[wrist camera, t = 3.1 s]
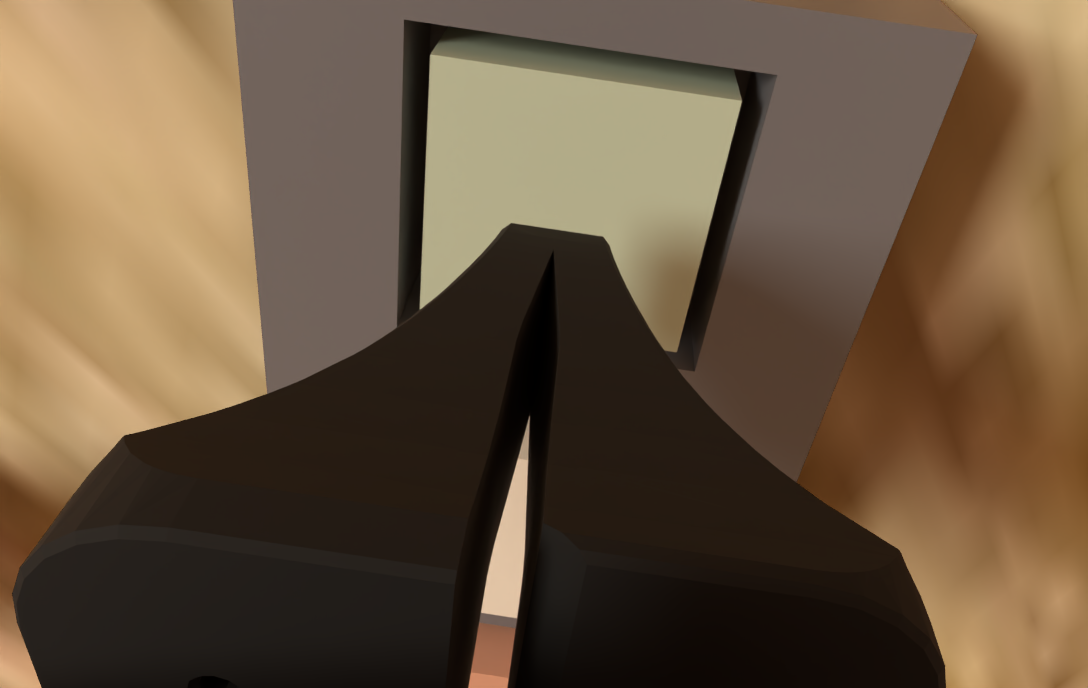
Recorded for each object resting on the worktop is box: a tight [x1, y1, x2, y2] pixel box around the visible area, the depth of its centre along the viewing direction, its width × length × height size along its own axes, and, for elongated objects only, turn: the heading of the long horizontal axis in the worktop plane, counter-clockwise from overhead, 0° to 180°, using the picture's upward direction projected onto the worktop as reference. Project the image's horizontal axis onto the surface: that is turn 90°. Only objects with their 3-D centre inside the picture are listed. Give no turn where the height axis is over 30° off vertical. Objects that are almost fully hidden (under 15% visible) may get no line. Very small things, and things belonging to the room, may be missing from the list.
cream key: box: [481, 416, 530, 618], centre depth 17 cm, size 4×4×2 cm
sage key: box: [420, 26, 742, 352], centre depth 14 cm, size 4×4×2 cm
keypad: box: [233, 0, 977, 628], centre depth 19 cm, size 10×20×3 cm, turn 173°
